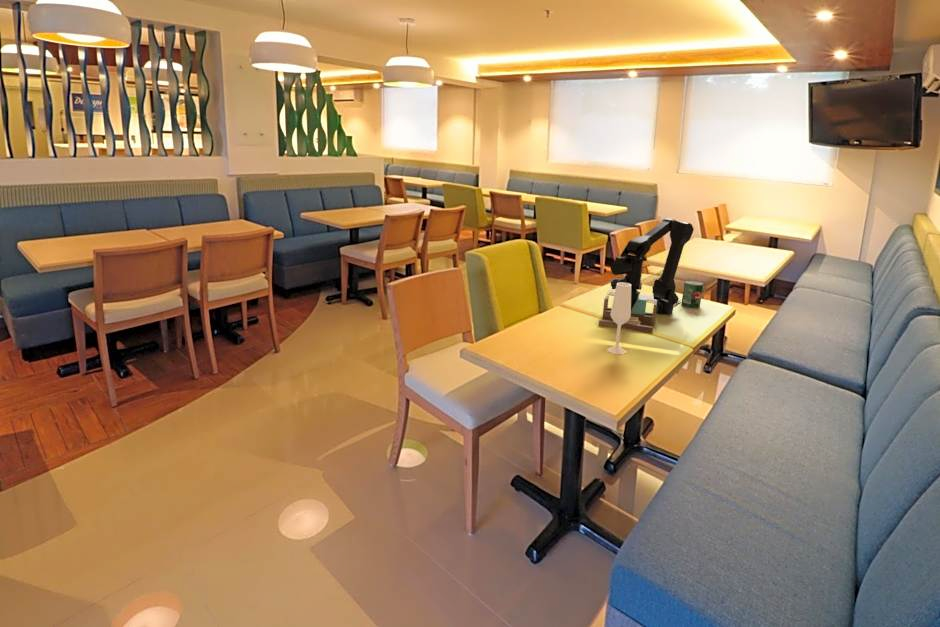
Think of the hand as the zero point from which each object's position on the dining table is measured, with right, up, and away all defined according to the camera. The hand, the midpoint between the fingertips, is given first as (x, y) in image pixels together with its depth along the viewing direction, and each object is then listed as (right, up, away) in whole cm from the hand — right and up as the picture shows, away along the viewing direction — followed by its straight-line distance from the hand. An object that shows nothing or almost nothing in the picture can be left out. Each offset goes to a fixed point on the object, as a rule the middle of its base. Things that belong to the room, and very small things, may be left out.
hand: (629, 310), depth 217 cm
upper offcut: (-3, -4, -7) cm, 9 cm away
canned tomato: (+35, +2, +25) cm, 43 cm away
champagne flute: (-13, -15, -29) cm, 35 cm away
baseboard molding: (+17, +5, +36) cm, 40 cm away
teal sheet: (0, -4, +1) cm, 4 cm away
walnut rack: (-2, -6, -2) cm, 6 cm away
